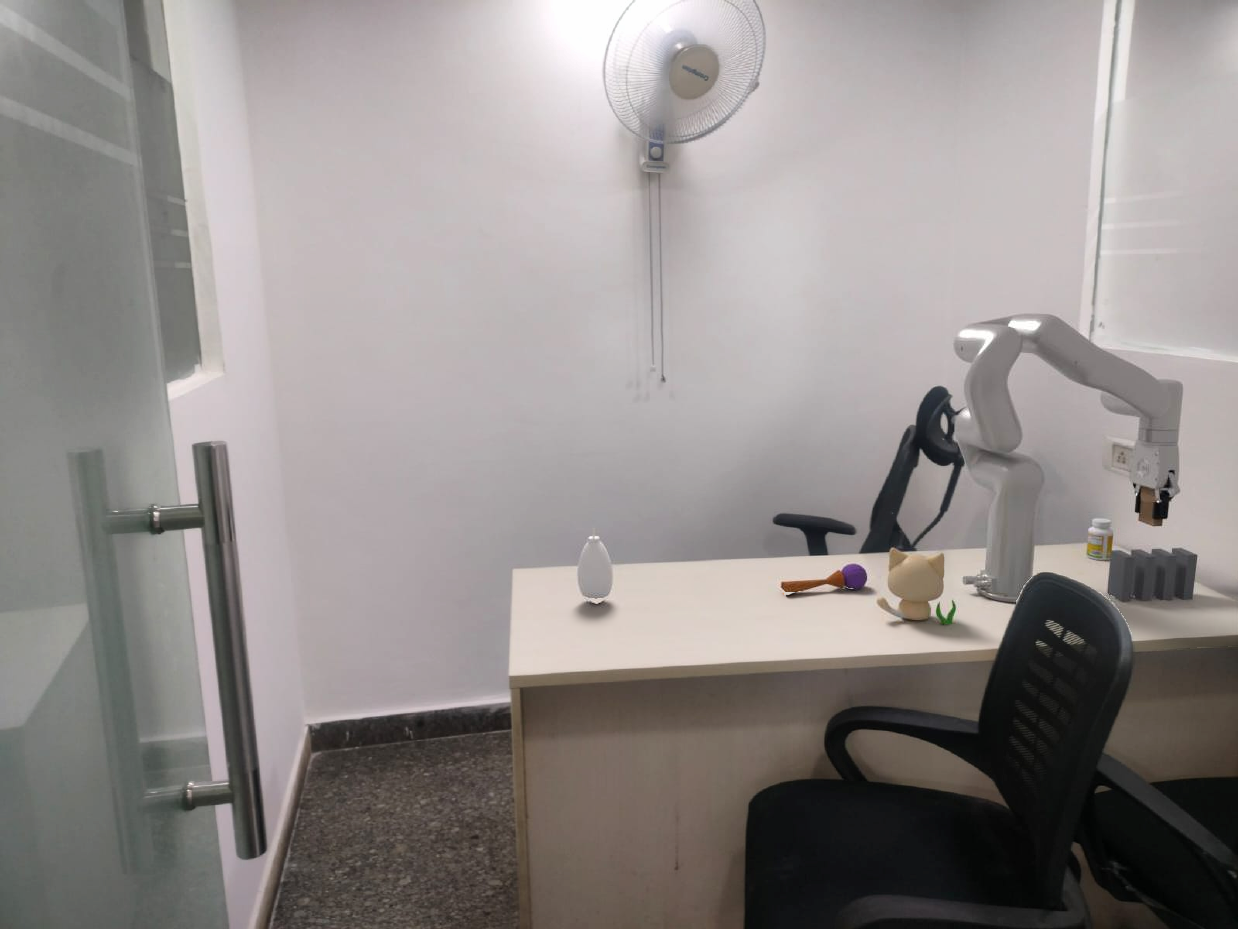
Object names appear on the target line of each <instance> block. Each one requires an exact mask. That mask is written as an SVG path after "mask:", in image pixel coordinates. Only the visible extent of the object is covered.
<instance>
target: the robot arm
mask: <svg viewBox="0 0 1238 929" xmlns="http://www.w3.org/2000/svg"><path fill="white" fill-rule="evenodd" d="M953 350H954V352H955V354H956V356H957V357H958V358H959V359H960V360H962V361H964V362H966V363H970V366H969V369H968V371H967V373H966V376H965V378H964V381H963V382H964V383H963V394H964V398H965V403H966V405H967V406H966V407H964V408H963V409H962V410H960V412H959V413H958V414H957V416H956V418H955V421H954V436H955V439H956V442H957V445H958V447H959V451H960V453H961V456H962V458H963V461H964V463H965V466H966V469H967V470H968V471H967V472H968V473H969V475H970V477H971V478H972V480H973V481H974V482H975V483H976V484H977V485H978V486H981V487H982V488H985V489H987V490H991V491H992V492H995V497H994V498H993V501H992V503H990V504H991V505H990V507H989V510H988V519H987V535H986V551H985V564H984V565H985V569H984V570H980V573H978V574H976V575H964V576H963V577H962V583H963V585H965V586H966V585H969V586H970V585H973V587H974V588H976V592H977V593H978V594H979V595H981V596H983V597H986V598H989V599H991V600H995V601H999V602H1005V603H1017V602H1016V600H1017V599H1018V597H1019V595H1020V592H1021V590H1022V589H1023V586H1024V585H1025V584H1026V582H1027V581H1028V580H1029V579H1030V578H1031V577H1032V578H1033V572H1034V571H1033V570H1034V562H1035V561H1034V560H1035V547H1036V546H1035V544H1036V532H1037V520H1038V519H1037V517H1038V509H1039V502H1040V500H1041V496H1042V492H1043V489H1044V485H1045V479H1046V478H1045V471H1044V469H1043V467H1042V465H1041V464H1040V463H1039V462H1038V461H1037V460H1036V459H1034V458H1033V457H1031V456H1029V455H1026V454H1024V453H1021V452H1020V453H1019V452H1016V451H1014V450H1016V449H1018V448H1019V446H1020V445H1021V443H1022V440H1023V429H1022V428H1023V427H1022V425H1021V422H1020V420H1019V415H1018V414H1017V411H1016V409H1015V406H1014V403H1013V401H1012V397H1011V394H1010V390H1009V385H1008V382H1009V375H1010V372H1011V371H1012V368H1013V366H1014V364H1015V363H1016V361H1018V358H1019V356H1020V355H1021V353H1022V354H1033V355H1035V356H1037V357H1038V358H1039V359H1040V360H1042V361H1043V362H1044V363H1046V364H1047V365H1049V366H1050V367H1052V369H1054V370H1056V371H1057V372H1058V373H1060V374H1061V375H1062V376H1064V377H1065V378H1066V379H1068V380H1069V381H1072V382H1074V383H1076V384H1079V385H1082V386H1085V387H1088V388H1091V389H1095V390H1098V391H1101V392H1100V398H1099V399H1100V403H1101V405H1102V407H1103V408H1104V409H1106V410H1107V411H1108V412H1111V413H1114V414H1117V415H1121V416H1129V417H1135V418H1139V420H1138V421H1139V422H1138V430H1137V431H1138V432H1137V439H1136V440H1135V442H1134V446H1133V449H1132V451H1131V452H1132V453H1131V458H1130V463H1129V471H1128V480H1129V481H1130V482H1131V483H1132V487H1133V489H1134V495H1135V504H1134V505H1135V506H1134V513H1135V514H1139V511H1140V499H1141V497H1140V495H1141V487H1142V486H1144V487H1147V488H1151V489H1155V495H1156V502H1154V503H1153V514H1152V518H1153V519H1154V520H1159V519H1163V520H1168V518H1169V508H1170V503H1171V502H1172V500H1173V498H1175V496H1177V495H1178V494H1180V493H1181V489H1180V486H1179V477H1180V476H1179V475H1180V451H1179V450H1180V449H1179V438H1180V427H1181V426H1180V425H1181V416H1182V405H1183V404H1182V403H1183V395H1184V385H1183V383H1182V382H1181V381H1179V380H1176V379H1175V380H1174V379H1158V378H1156V377H1154V376H1153V375H1152V374H1150V373H1149V372H1147V371H1146V370H1145V369H1143V368H1141V367H1139V366H1137V365H1135V364H1133V363H1132V362H1129V361H1128V360H1126V359H1123V358H1120V356H1117V355H1115V354H1113V353H1111V352H1109V351H1107V350H1105V349H1103V348H1101V347H1099V346H1098V345H1096V344H1095V343H1094V342H1092V341H1091V340H1090V339H1088V338H1087V337H1085V336H1084V335H1083V334H1082V333H1080V332H1079V331H1078V330H1076V329H1075V328H1074V327H1072V326H1071V325H1070V324H1068V323H1067V322H1065V320H1063V319H1062V318H1060V317H1058V316H1056V315H1053V314H1049V313H1020V314H1014V315H1010V316H1009V315H1008V316H1003V317H1000V318H994V319H989V320H984V321H979V322H974V323H970V324H969V323H968V324H967V325H965V326H964V327H962V328H961V329H960V330H959V331H958V332H957V333H956V335H955V336H954V339H953ZM1164 485H1166V488H1163V487H1164ZM1161 491H1165V493H1164V494H1162V495H1161Z"/></svg>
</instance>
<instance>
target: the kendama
mask: <svg viewBox="0 0 1238 929" xmlns="http://www.w3.org/2000/svg"><path fill="white" fill-rule="evenodd" d="M867 581H868V573H867V571H866V569H865V568H864V567H863V566H861V564H857V563H849V564H846V565H844V566H843V568H842V569H841V570H840V569H837V570H836V571H835V572H833V573H831V575H829V576H828V577H827V578H823V579H809V580H807V579H806V580H793V581H792V580H790V581H782V582H780V588H782V589H783V590H784V591H785V592H798V591H801V592H804V590H805V591H808V590H810V589H815V588H817V587H821V586H825V585H829V586H832V587H836V588H839V587H840V589H843V588H844V587H845V586H846V587H848V588H853V589H856V590H859V589H858V588H860V589H861V588H863V587H865V585H866V583H867ZM846 587H845V588H846ZM848 588H847V589H848ZM798 593H799V592H798Z"/></svg>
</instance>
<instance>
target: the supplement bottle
mask: <svg viewBox="0 0 1238 929" xmlns="http://www.w3.org/2000/svg"><path fill="white" fill-rule="evenodd" d="M1091 525H1092V526H1091V527H1089V528H1088V530H1087V544H1086V545H1087V546H1086V557H1087V558H1089V559H1090V558H1091V560H1094V561H1104V562H1105V561H1110V556H1111V550H1113V540H1114V531H1113V529H1112V528H1111V526H1112V520H1110V519H1107V518H1100V517H1099V518H1095V517H1094V518H1093V519H1092V522H1091Z"/></svg>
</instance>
